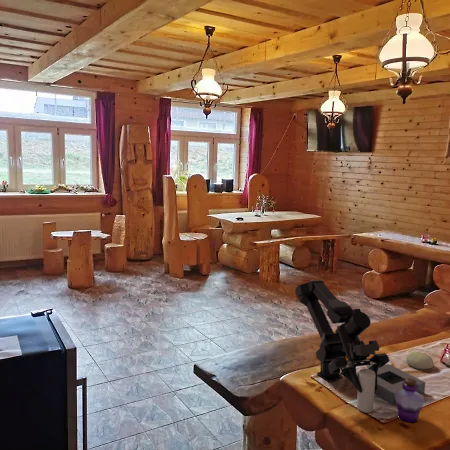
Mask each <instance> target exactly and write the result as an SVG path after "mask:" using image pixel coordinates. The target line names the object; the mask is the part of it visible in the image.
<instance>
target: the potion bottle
mask: <svg viewBox="0 0 450 450" xmlns="http://www.w3.org/2000/svg"><path fill="white" fill-rule="evenodd" d="M402 388H403V389H400V390H397V391H394V392H395V403H396V404H395V406H396V407H397V408H396V409H397V417H398V416H399V418H400V419H399V418H398V419H399V420H400V421H402V422H404V423H406V424H415V423H418V419H419V416H420V412H421V411H422V409H423V407H424V404H425V397H424V394H422V395H421V394H419V393H417V392H415V391H418V384H417V383H416V380H415V379H413V378H405V381H403V382H402Z"/></svg>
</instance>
